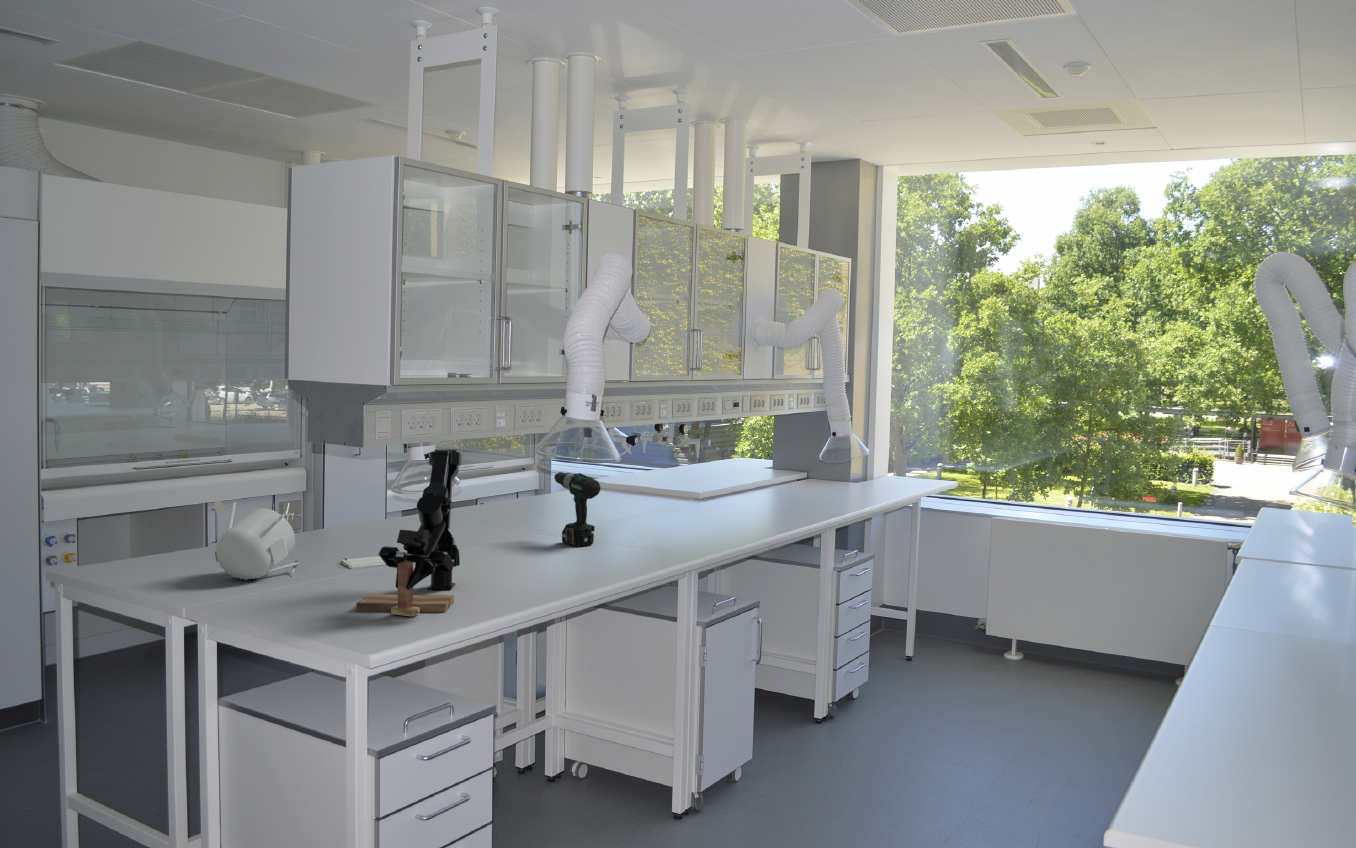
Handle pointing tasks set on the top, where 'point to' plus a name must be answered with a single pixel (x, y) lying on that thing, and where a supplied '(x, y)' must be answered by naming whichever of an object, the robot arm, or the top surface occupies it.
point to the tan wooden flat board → (391, 600)
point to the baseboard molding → (364, 562)
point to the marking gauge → (405, 592)
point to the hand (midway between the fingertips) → (402, 588)
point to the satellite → (255, 543)
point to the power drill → (579, 507)
